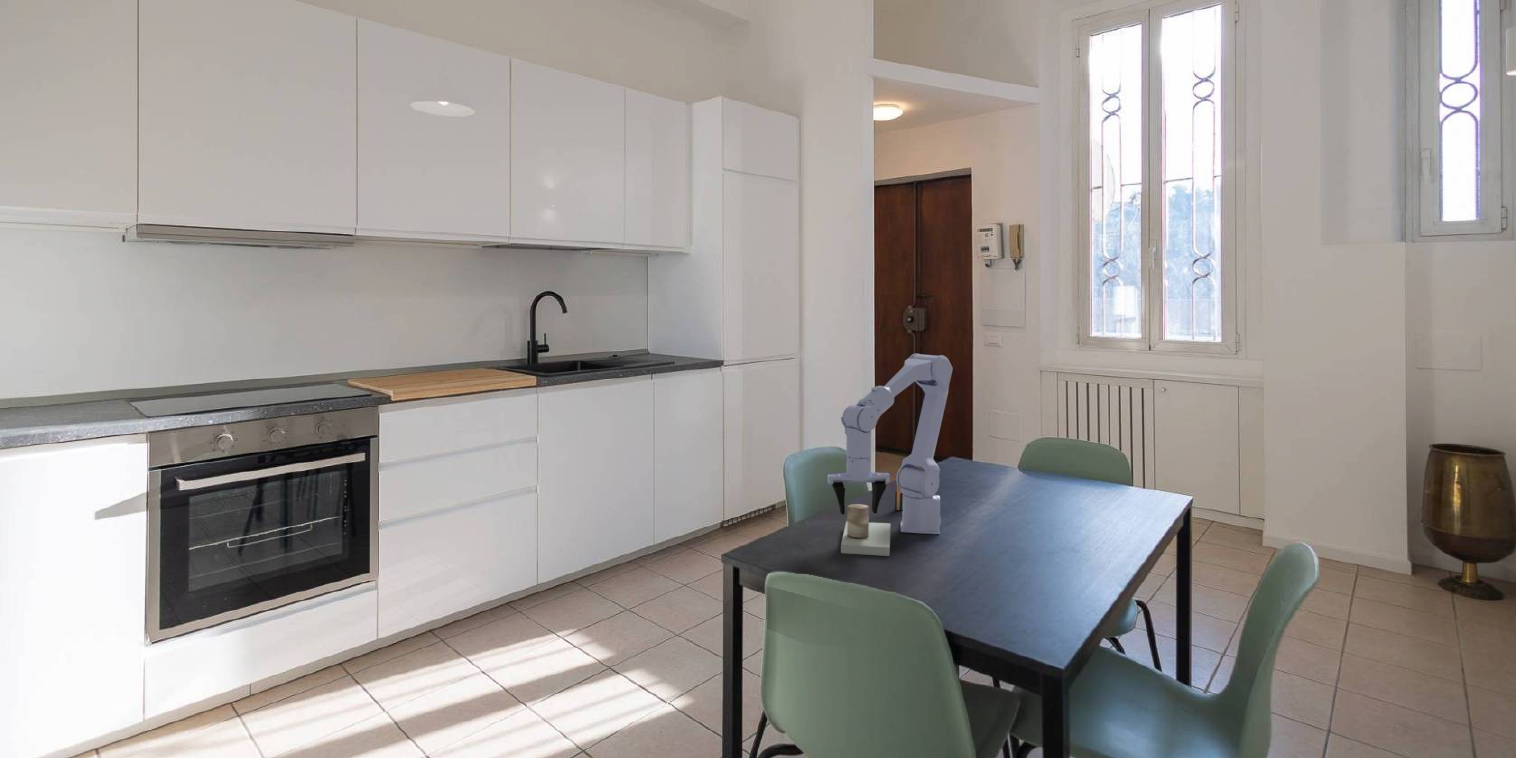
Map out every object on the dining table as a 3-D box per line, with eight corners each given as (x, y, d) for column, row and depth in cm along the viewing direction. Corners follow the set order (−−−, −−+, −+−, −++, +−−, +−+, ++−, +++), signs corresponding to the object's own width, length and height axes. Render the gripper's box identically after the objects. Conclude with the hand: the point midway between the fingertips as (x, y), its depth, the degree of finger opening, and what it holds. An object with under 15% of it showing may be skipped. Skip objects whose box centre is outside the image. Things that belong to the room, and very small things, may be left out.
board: (890, 531, 188) (890, 523, 188) (889, 555, 171) (889, 547, 170) (846, 528, 190) (846, 521, 190) (840, 553, 173) (840, 544, 172)
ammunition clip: (900, 511, 205) (901, 468, 204) (894, 510, 206) (895, 467, 205) (920, 503, 213) (921, 461, 212) (914, 502, 214) (915, 460, 213)
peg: (865, 539, 182) (865, 503, 181) (870, 546, 177) (871, 509, 176) (845, 540, 181) (845, 504, 180) (850, 547, 176) (850, 510, 175)
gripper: (885, 451, 181) (884, 506, 182) (825, 453, 180) (825, 508, 181) (892, 458, 174) (891, 515, 175) (830, 460, 173) (830, 517, 174)
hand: (858, 512), depth 178 cm, fingers open, 7 cm apart
